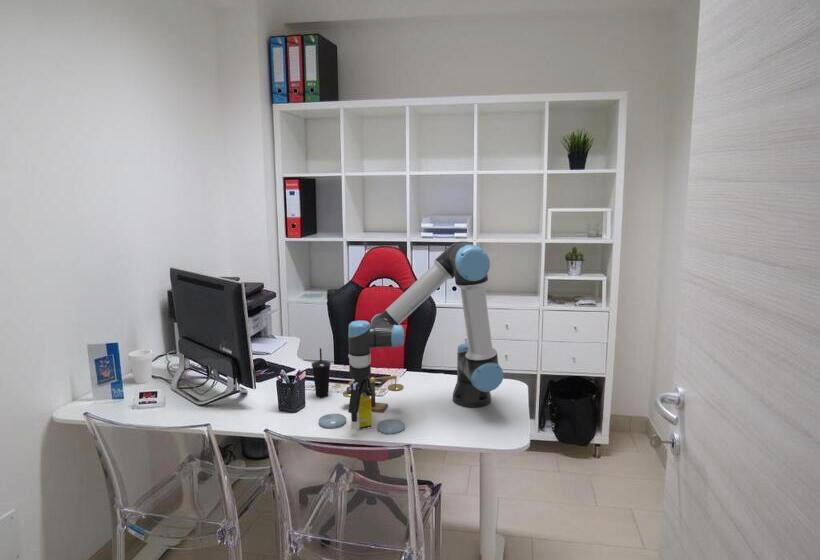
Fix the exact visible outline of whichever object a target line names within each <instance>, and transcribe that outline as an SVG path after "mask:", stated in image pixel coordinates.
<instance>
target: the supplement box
mask: <svg viewBox="0 0 820 560" xmlns="http://www.w3.org/2000/svg"><path fill="white" fill-rule="evenodd" d="M358 411H359V428H360V429H359V430H364V429H363V428H365V429H369V428H368V427H370V428H372V427H373V425H372V424H373V423H372V421H373V420H372V417H373V416H372V413H373V412H371V397H370V398H369V396H368V395H367V394H366V393H363V394H361V398H360V403H359V408H358Z"/></svg>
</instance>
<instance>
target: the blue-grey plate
mask: <svg viewBox="0 0 820 560" xmlns="http://www.w3.org/2000/svg"><path fill="white" fill-rule="evenodd" d="M376 430H377V432H378V433H380V432H381V433H380V434H383V433H385V434H384V435H388V434H393V435H398V434H397V433H399V434H401V433H403V432H404V431H405V430H406V423H405V422H404V421H403V420H400V419H396V418H388V419H383V420H380V421H379V422H377V423H376ZM402 431H403V432H402ZM400 432H401V433H400Z"/></svg>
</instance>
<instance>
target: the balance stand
mask: <svg viewBox="0 0 820 560" xmlns="http://www.w3.org/2000/svg"><path fill="white" fill-rule="evenodd" d="M371 387H372V392H371V393H373V396H370V399H371V413H383V414H384V413H385V411H386V410H387V408H388V407H389V403H387V402H376V382H375V383H371Z"/></svg>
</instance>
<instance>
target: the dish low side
mask: <svg viewBox="0 0 820 560" xmlns="http://www.w3.org/2000/svg"><path fill="white" fill-rule="evenodd" d="M346 424H347V417H346V416H345V415H343V414H341V413H329V414H324V415H322V416H320V417H319V419H318V425H319V426H320V427H321V428H323V429H326V430H327V429H330V430H331V429H338V428H339V429H340V428H341V427H344V426H345V425H346Z"/></svg>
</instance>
